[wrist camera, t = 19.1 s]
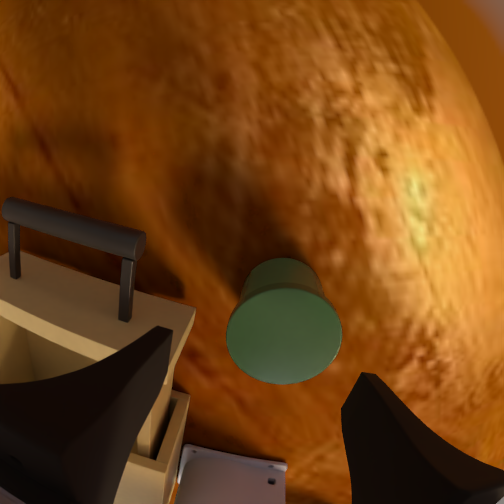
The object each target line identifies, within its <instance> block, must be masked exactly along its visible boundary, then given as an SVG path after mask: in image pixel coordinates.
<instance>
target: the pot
mask: <svg viewBox="0 0 504 504" xmlns="http://www.w3.org/2000/svg"><path fill="white" fill-rule="evenodd" d="M341 342H342V326H341V322H340V319H339V316H338V314H337V312H336V309H335V308H334V306H333V305H332V303H331V302H330V301H329V300H328V299H327V298H326V297H325V295H324V292H323V289H322V286H321V283H320V281H319V278H318V277H317V275H316V273H315V272H314V271H313V270H312V269H311V268H310V267H309V266H307V265H306V264H304V263H302V262H300V261H298V260H295V259H290V258H275V259H271V260H267V261H265V262H263V263H261V264H259V265H258V266H256V267H255V268H254V269H253V270H252V271H251V272H250V273H249V275H248V276H247V278H246V280H245V282H244V284H243V288H242V293H241V297H240V302H239V303H238V304H237V305H236V307H235V308H234V310H233V311H232V313H231V316H230V319H229V322H228V326H227V331H226V343H227V348H228V351H229V353H230V355H231V358H232V359H233V361H234V362H235V363H236V365H237V366H238V367H239V368H240V369H241V370H242V371H244V372H245V373H246V374H248V375H249V376H251V377H253V378H255V379H257V380H260V381H263V382H267V383H272V384H293V383H298V382H302V381H305V380H308V379H310V378H312V377H314V376H316V375H318V374H319V373H321V372H322V371H323V370H325V369H326V368H327V367H328V366H329V365H330V364H331V363H332V361H333V360H334V359H335V357H336V355H337V353H338V351H339V349H340V346H341Z"/></svg>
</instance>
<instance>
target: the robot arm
mask: <svg viewBox="0 0 504 504" xmlns="http://www.w3.org/2000/svg"><path fill="white" fill-rule="evenodd" d="M172 337H173V330H172V329H168V328H165V327H162V326H158V325H157V326H155V327H154V328H152V329H151V330H149V331H148V332H147V333H145V334H144V335H142V336H141V337H139V338H138V339H136V340H135V341H133V342H132V343H130V344H129V345H127V346H125V347H124V348H122V349H121V350H119V351H117V352H115V353H113V354H112V355H110V356H108V357H106V358H104V359H102V360H100V361H98V362H96V363H94V364H92V365H89V366H87V367H84V368H82V369H79V370H77V371H73V372H70V373H67V374H63V375H60V376H56V377H53V378H48V379H43V380H38V381H32V382H24V383H11V384H0V504H113V503H114V500H115V496H116V493H117V490H118V487H119V484H120V481H121V478H122V475H123V472H124V469H125V466H126V463H127V461H128V458H129V455H130V452H131V450H132V447H133V445H134V442H135V440H136V438H137V436H138V434H139V432H140V430H141V428H142V426H143V424H144V422H145V421H146V419H147V417H148V415H149V413H150V411H151V409H152V407H153V405H154V403H155V401H156V400H157V398H158V396H159V394H160V391H161V389H162V386H163V383H164V380H165V378H166V375H167V372H168V366H169V358H170V351H171V344H172ZM341 422H342V433H343V439H344V444H345V450H346V455H347V460H348V466H349V471H350V477H351V488H352V504H496V503H497V502H498V501H499V500H500V499H501V498H502V497H504V471H503V470H502V469H499V468H496V467H493V466H491V465H488V464H485V463H483V462H481V461H479V460H477V459H475V458H473V457H471V456H469V455H467V454H465V453H463V452H462V451H460V450H458V449H457V448H455V447H454V446H452V445H451V444H449V443H448V442H446V441H445V440H443V439H442V438H441V437H440V436H438V435H437V434H436V433H434V432H433V431H432V430H431V429H430V428H428V427H427V426H426V425H425V424H424V423H423V422H422V421H421V420H420V419H419V418H418V417H417V416H415V415H414V414H413V412H412V411H411V410H410V409H409V408H408V407H407V406H406V405H405V404H404V403H403V402H402V401H401V400H400V399H399V398H398V397H397V396H396V395H395V394H394V392H393V391H392V390H391V389H390V388H389V387H388V386H387V385H386V384H385V383H384V382H383V381H382V380H381V379H380V378H379V377H378V376H377V375H376V374H372V373H365V372H362V373H361V374H360V376H359V378H358V380H357V382H356V384H355V385H354V387H353V389H352V391H351V392H350V394H349V396H348V398H347V399H346V401H345V403H344V404H343V406H342V408H341ZM286 469H287V464H286V463H283V462H276V461H269V460H262V459H256V458H250V457H245V456H239V455H234V454H229V453H224V452H220V451H215V450H211V449H207V448H203V447H199V446H195V445H191V444H185V445H184V446H183V450H182V456H181V462H180V467H179V473H178V479H177V482H178V483H179V487H178V491H177V494H176V498H175V502H174V504H285V471H286Z"/></svg>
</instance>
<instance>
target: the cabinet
mask: <svg viewBox="0 0 504 504" xmlns="http://www.w3.org/2000/svg"><path fill="white" fill-rule="evenodd" d="M189 401H190V395H189V394H185V393H182V392H178V391H175V390H172V389H171V397H170V405H169V413H168V422H167V431H166V434H165V436H164V439H163V442H162V445H161V448H160V450H159V453H158V456H157V459H156V461H155V460H152V459H149V458H146V457H143V456H140V455H137V454H134V453H132V452H130V455H129V458H128V461H127V463H126V466H125V469H124V472H123V475H122V478H121V481H120V484H119V487H118V490H117V493H116V496H115V500H114V503H113V504H169V503H170V499H171V495H172V492H173V488H174V485H175V481H176V475H177V469H178V463H179V457H180V451H181V446H182V440H183V434H184V428H185V423H186V417H187V412H188V406H189Z"/></svg>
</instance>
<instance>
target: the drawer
mask: <svg viewBox="0 0 504 504" xmlns="http://www.w3.org/2000/svg"><path fill="white" fill-rule="evenodd" d="M2 216H3V218H4V219H5V220H6V221H9V222H8V248H9V252H8V253H6V254H4V255H2V256H0V384H11V383H24V382H32V381H38V380H43V379H48V378H53V377H56V376H60V375H63V374H67V373H70V372H73V371H77V370H79V369H82V368H84V367H87V366H89V365H92V364H94V363H96V362H98V361H100V360H102V359H104V358H106V357H108V356H110V355H112V354H113V353H115V352H117V351H119V350H121V349H122V348H124V347H125V346H127V345H129V344H130V343H132V342H133V341H135V340H136V339H138V338H139V337H141V336H142V335H144V334H145V333H147V332H148V331H149V330H151V329H152V328H154V327H155V326H157V325H158V326H162V327H165V328H168V329H172V330H173V337H172V344H171V351H170V358H169V366H168V372H167V375H166V378H165V380H164V383H163V386H162V389H161V391H160V394H159V396H158V398H157V400H156V401H155V403H154V405H153V407H152V409H151V411H150V413H149V415H148V417H147V419H146V421H145V422H144V424H143V426H142V428H141V430H140V432H139V434H138V436H137V438H136V440H135V442H134V445H133V447H132V450H131V452H132V453H134V454H137V455H140V456H143V457H146V458H149V459H152V460H155V461H156V459H157V456H158V453H159V450H160V448H161V445H162V442H163V439H164V436H165V434H166V431H167V422H168V413H169V405H170V397H171V389H172V381H173V374H174V367H175V364H176V362H177V360H178V357H179V355H180V353H181V351H182V348H183V346H184V344H185V342H186V339H187V337H188V335H189V332H190V330H191V328H192V326H193V323H194V317H195V312H196V308H195V307H191V306H188V305H184V304H180V303H177V302H173V301H170V300H166V299H163V298H159V297H156V296H153V295H149V294H146V293H143V292H139V291H136V290H134V284H135V274H136V265H137V260H139V259H140V258H141V256H142V254H143V252H144V249H145V245H146V233H145V232H144V231H141V230H137V229H133V228H129V227H126V226H122V225H118V224H114V223H110V222H106V221H103V220H99V219H95V218H91V217H87V216H83V215H80V214H76V213H72V212H68V211H64V210H61V209H57V208H53V207H49V206H46V205H42V204H38V203H34V202H30V201H27V200H23V199H19V198H15V197H9V198H7V199H6V200H5V202H4V203H3V206H2ZM20 225H21V226H24V227H27V228H31V229H34V230H37V231H40V232H43V233H46V234H49V235H52V236H56V237H59V238H62V239H65V240H68V241H72V242H75V243H78V244H81V245H85V246H88V247H91V248H95V249H98V250H101V251H105V252H108V253H112V254H115V255H118V256H122V257H123V258H122V267H121V279H120V285H117V284H114V283H110V282H107V281H104V280H101V279H98V278H95V277H92V276H89V275H86V274H83V273H80V272H77V271H74V270H71V269H69V268H66V267H63V266H60V265H57V264H54V263H52V262H49V261H46V260H43V259H41V258H38V257H35V256H33V255H30V254H27V253H25V252H22V251H20Z"/></svg>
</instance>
